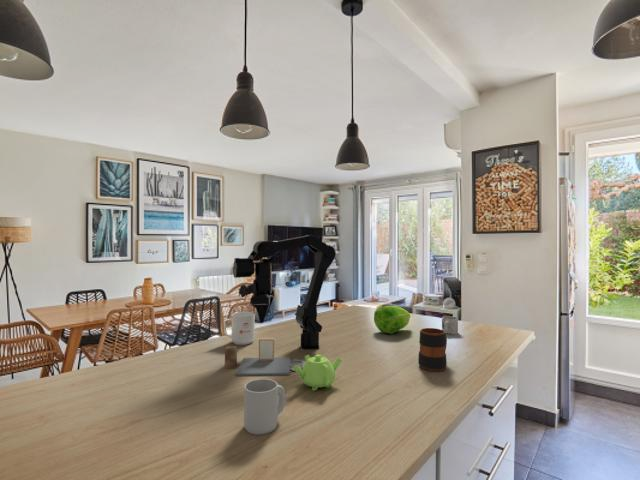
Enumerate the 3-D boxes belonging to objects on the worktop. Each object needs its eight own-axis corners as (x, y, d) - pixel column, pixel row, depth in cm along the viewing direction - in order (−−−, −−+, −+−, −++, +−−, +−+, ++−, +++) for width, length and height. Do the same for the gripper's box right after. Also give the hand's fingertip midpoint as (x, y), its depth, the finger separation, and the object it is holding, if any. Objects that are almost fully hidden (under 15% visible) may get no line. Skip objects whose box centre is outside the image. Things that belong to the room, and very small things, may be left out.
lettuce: (421, 331, 157) (421, 304, 157) (390, 338, 146) (390, 309, 146) (398, 325, 168) (398, 300, 168) (367, 331, 157) (367, 304, 157)
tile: (274, 358, 118) (274, 338, 118) (273, 360, 117) (274, 339, 117) (259, 358, 118) (259, 338, 118) (258, 360, 116) (258, 339, 116)
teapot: (331, 396, 91) (331, 364, 91) (290, 390, 95) (291, 359, 95) (342, 380, 102) (342, 351, 102) (305, 375, 106) (305, 347, 106)
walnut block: (236, 364, 115) (236, 346, 115) (234, 368, 111) (235, 349, 111) (226, 364, 114) (227, 346, 114) (224, 368, 111) (224, 349, 111)
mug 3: (444, 330, 160) (444, 315, 160) (459, 332, 156) (459, 317, 156) (437, 334, 152) (437, 319, 152) (453, 337, 148) (453, 321, 148)
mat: (290, 359, 120) (290, 357, 120) (289, 374, 106) (289, 372, 106) (243, 359, 119) (243, 357, 119) (235, 375, 105) (235, 373, 105)
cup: (238, 425, 77) (238, 384, 77) (276, 411, 84) (276, 373, 84) (254, 439, 72) (254, 395, 72) (294, 423, 78) (294, 383, 78)
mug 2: (457, 365, 115) (457, 329, 115) (436, 374, 107) (436, 335, 107) (434, 358, 121) (434, 324, 121) (412, 366, 114) (413, 330, 114)
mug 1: (250, 337, 146) (250, 311, 146) (257, 343, 138) (257, 315, 138) (221, 341, 140) (221, 313, 140) (226, 347, 132) (226, 318, 132)
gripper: (245, 273, 135) (246, 314, 135) (234, 279, 116) (235, 326, 116) (274, 273, 135) (275, 313, 135) (268, 279, 116) (268, 326, 117)
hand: (263, 319), depth 126 cm, fingers open, 9 cm apart
